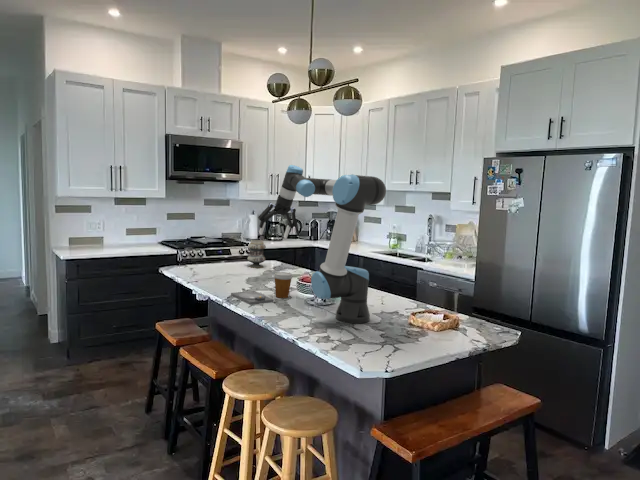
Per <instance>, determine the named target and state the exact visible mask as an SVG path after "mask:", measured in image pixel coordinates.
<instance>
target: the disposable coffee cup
mask: <svg viewBox="0 0 640 480" xmlns="http://www.w3.org/2000/svg"><path fill="white" fill-rule="evenodd" d="M273 278H274V285H275V286H274V287H275V298H279V299H287V298H289V294H290V289H291V282H292V279H293V276H292V273H290V272H286V271H281V272H275V273H274V275H273Z"/></svg>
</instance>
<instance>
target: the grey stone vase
mask: <svg viewBox="0 0 640 480" xmlns="http://www.w3.org/2000/svg"><path fill="white" fill-rule="evenodd" d="M247 247H248V249H249V255H248V257H247V261H248V262H249V263H252V264H250V265H249V266H248V268H250V269H251V268H252V269H262V268H264V266H263V265H262V263H264V262H265V261H266V257H265V254H264V251H265V249H266V248H267V247H266V244H265V243H264V240H259V239H257V240H256V239H255V240H254V239H251V240H250V243H249V244H248V246H247Z"/></svg>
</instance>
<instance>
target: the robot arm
mask: <svg viewBox="0 0 640 480" xmlns="http://www.w3.org/2000/svg"><path fill="white" fill-rule="evenodd" d="M303 173H304V169H303V168H302V167H300V166H297V165H293V164H290V165H288V167H287V169H286V171H285V174H284V177H283V181H282V183H281V187H280V189H279V190H280V191H279V192H278V196H277V199H276V202H275V204H273V203H272V202H269V203H268V206H267V207H266V208H265V209H264V210H263V211H262V212H261V214H259V215H258V216H257V218H258V220H259V221H260V223H259V231H258V233H259V235H260V236H262V235H263V233H264V230H265V227H266V224H267V223H266V222H267V221H268V220H269V219H272V217H273V216H276V215H281V216H285V218H286V219H285V220H286V221H287V224H288V225H287V226H286V227H285V231H284V233H283V238H284V239H285V240H287V238H288V236H289V234H290V233H291V231H292V229H294V227H297V226H298V225H297V218H296V212H297V209H296V207H294V206H292V205H293V201H294V199H295V197H296V194H297V193H298V194H299V195H300V196H302V197H305V198H309V197H311V196H313V195H318V196H319V195H320V196H330V197H331V196H332V199H333V201H334V202H335V207H336V209H337V211H336V217H335V220H334V224H333V229H332V232H331V236H330V241H329V245H328V248H327V253H326V256H325V261H324V262H322V263H321V264H320V265H319V270H316V271H315V272H313V273H312V275H311V278H310V280H311V281H310V284H311V288H312V292H313V294H314V295H315V297H317V298H318V299H322V300H325V299H326V300H330V299H338V298H340V301H339V304H338V306H337V309H336V312H335V319H336V320H337V321H340V322H343V323H348V324H365V323H368V322H370V318H371V316H370V311H369V306H368V292H369V281H370V273H369V272H370V271H368V270H367V269H365V268H361V267H355V266H351V265H350V266H348V265H346V263H347V261H348V260H347V259H348V256H349V251H350V248H351V245H352V240H353V238H354V234H355V231H356V230H355V229H356V225H357V223H358V219H359V215H361V214H363V213H364V210H365V206H375V205H377V204H380V203H381V202H382V201H383V200H384V199H385V197H386V194H387V188H386V184H385V183H384V181H383V180H382V179H381V178H378V177H376V176H369V175H367V176H366V175H360V174H358V175H357V174H353V173H352V174H344V175H341V176H340V177H339V178H337V179H329V178H313V177H305V175H304V174H303ZM289 213H290V215H291V218H290V215H289Z"/></svg>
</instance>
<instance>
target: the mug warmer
mask: <svg viewBox="0 0 640 480" xmlns="http://www.w3.org/2000/svg"><path fill="white" fill-rule="evenodd" d="M230 295H231V296H232V297H234V298H236V299H238V300H240V301H242V302H244V303H246V304H248V305H250V306H251V305H258V304H260V305H261V304H266V303H267V304H268V303H275V300H274V298H271V297H269V296H267V295H265V294H264V293H262V292H257V291H255V290H249V291H248V290H247V291H238V292H237V291H236V292H235V291H234V292H230Z"/></svg>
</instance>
